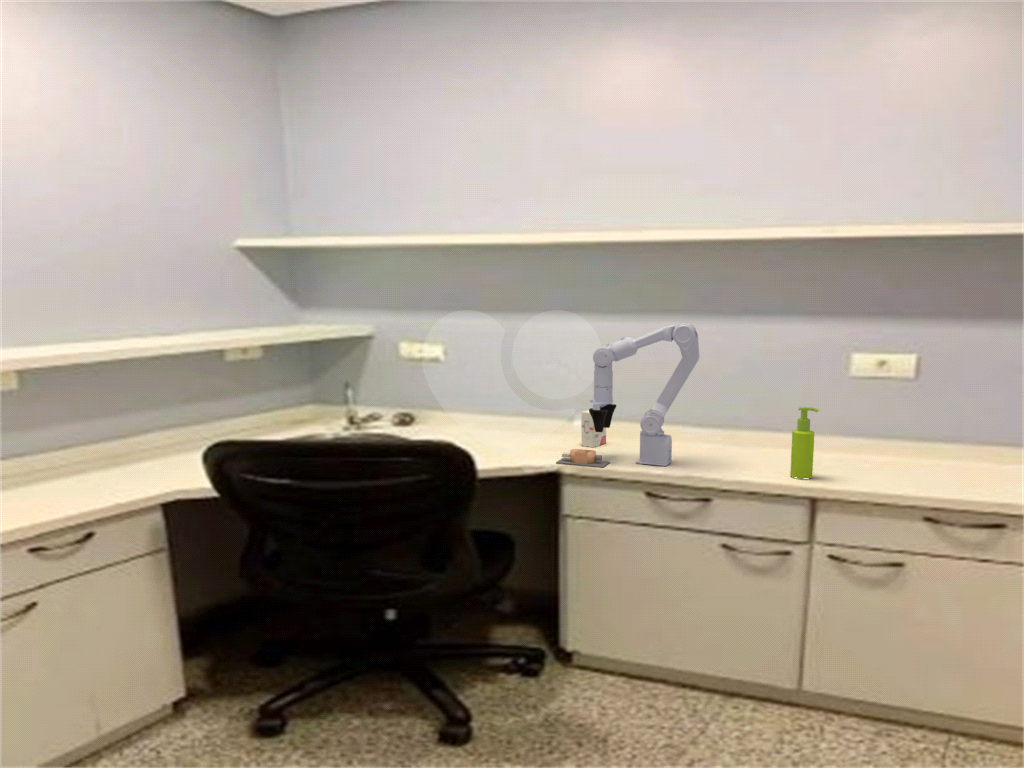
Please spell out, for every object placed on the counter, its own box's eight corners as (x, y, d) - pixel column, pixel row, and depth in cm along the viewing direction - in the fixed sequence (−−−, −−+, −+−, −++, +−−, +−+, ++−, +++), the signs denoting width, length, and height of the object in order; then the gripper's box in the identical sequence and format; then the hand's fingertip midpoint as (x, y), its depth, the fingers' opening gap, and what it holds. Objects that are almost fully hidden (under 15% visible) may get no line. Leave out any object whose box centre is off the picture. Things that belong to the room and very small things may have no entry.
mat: (610, 462, 253) (610, 461, 253) (603, 467, 247) (603, 466, 247) (563, 458, 259) (563, 457, 259) (555, 463, 253) (555, 462, 253)
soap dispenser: (813, 481, 231) (816, 410, 228) (788, 477, 235) (791, 407, 232) (818, 476, 236) (821, 407, 233) (793, 473, 240) (796, 405, 237)
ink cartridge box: (593, 441, 285) (594, 399, 283) (606, 443, 282) (607, 400, 280) (580, 446, 278) (580, 402, 276) (593, 447, 275) (593, 403, 273)
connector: (603, 462, 253) (603, 451, 252) (599, 464, 249) (599, 453, 249) (565, 458, 257) (565, 447, 257) (560, 461, 254) (560, 450, 253)
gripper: (597, 382, 263) (597, 424, 265) (583, 388, 250) (583, 432, 252) (619, 383, 260) (618, 426, 262) (606, 389, 247) (605, 434, 249)
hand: (602, 429), depth 257 cm, fingers open, 7 cm apart
